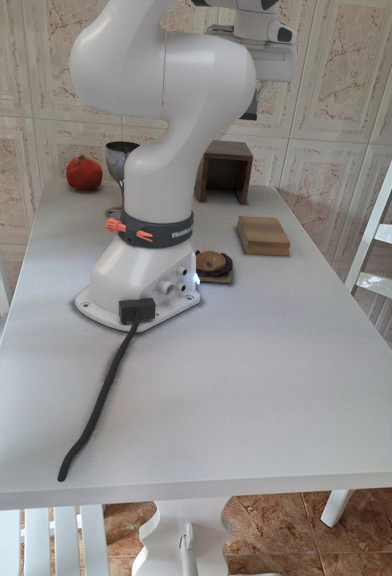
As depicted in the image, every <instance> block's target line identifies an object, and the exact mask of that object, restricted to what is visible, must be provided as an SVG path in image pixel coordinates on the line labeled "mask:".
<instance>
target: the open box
mask: <svg viewBox="0 0 392 576" xmlns="http://www.w3.org/2000/svg"><path fill="white" fill-rule="evenodd" d="M253 161H254V155H253V153H252V151H251V150H250V148H249V146H248V144H247V142H246V141H233V140H219V139H214V140H213V141H212V142H211V144H210V145H209V146H208V148H207V149H206V151H205V153H204V155H203V157H202V159H201V161H200V164H199V167H198V171H197V176H196V181H195V188H196V193H197V197H198V201H199V202H201V203H202V202H203V203H204V202H205V197H206V189H207V188H213V189H228V190H235V192H236V194H237V197H238V200H239V201H240V204H241V205H247V199H248V193H249V187H250V181H251V174H252V168H253V163H254V162H253Z"/></svg>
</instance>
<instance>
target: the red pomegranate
mask: <svg viewBox="0 0 392 576" xmlns="http://www.w3.org/2000/svg"><path fill="white" fill-rule="evenodd" d="M65 171H66V173H65V177H66V181H67V184H68V186H69V187H71V188H72V189H75V190H78V191H95V190H97V189H98V188H99V187H100V186H101V185H102V181H103V175H104V172H103V169H102V166H101V164H99V163H98V161H96V160H94V159H92V158H90V157H88V156H86V155H85V154H83V153H81V154H79V155H76V156H73V158H72V159H71V160H70V161H69V162H68V164H67V166H66V170H65Z"/></svg>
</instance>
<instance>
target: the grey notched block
mask: <svg viewBox="0 0 392 576" xmlns="http://www.w3.org/2000/svg"><path fill="white" fill-rule="evenodd" d="M257 92H258V88H257V87H256V88H255V93H254V96H253V99H252V101H251V104H250V106H249V107H248V109H247V110H246V112H245V113H244V114H243V115H242V116H241V117H240V118H239V119H238V120H243V121H252V122H253V121H254V122H256V121H257V120H258V113H257V112H258V105H259V103H257V102H256V94H257Z"/></svg>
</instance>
